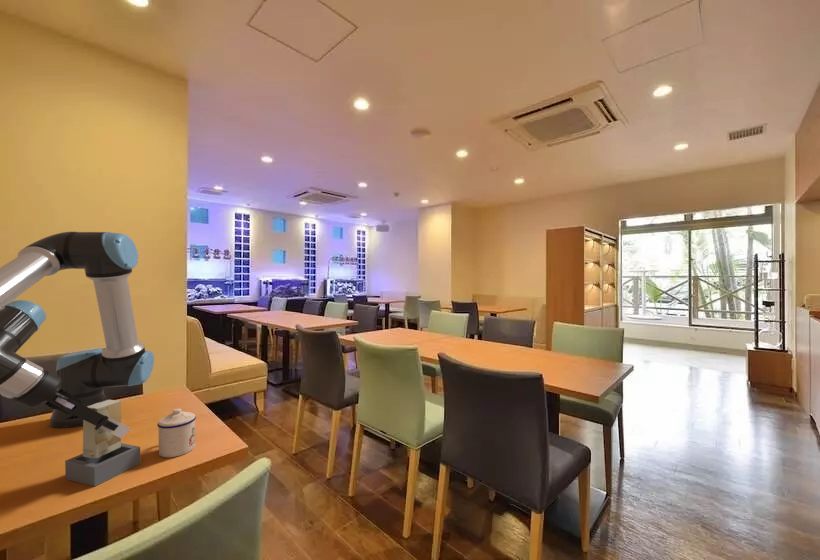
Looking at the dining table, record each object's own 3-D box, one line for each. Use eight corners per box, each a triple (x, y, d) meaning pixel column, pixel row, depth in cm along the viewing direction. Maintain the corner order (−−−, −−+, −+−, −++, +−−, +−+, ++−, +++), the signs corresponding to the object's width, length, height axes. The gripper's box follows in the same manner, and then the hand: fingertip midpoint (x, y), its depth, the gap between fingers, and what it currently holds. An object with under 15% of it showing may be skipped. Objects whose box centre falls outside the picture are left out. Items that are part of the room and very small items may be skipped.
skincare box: (96, 459, 85) (95, 409, 85) (81, 457, 86) (81, 407, 86) (122, 446, 91) (122, 399, 91) (109, 445, 92) (108, 398, 92)
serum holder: (65, 478, 86) (65, 460, 86) (112, 457, 96) (112, 441, 96) (94, 486, 83) (94, 467, 83) (140, 463, 93) (140, 446, 92)
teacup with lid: (198, 451, 99) (197, 410, 99) (158, 462, 93) (157, 418, 93) (193, 436, 108) (192, 398, 108) (156, 444, 103) (156, 405, 103)
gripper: (1, 392, 81) (94, 435, 95) (21, 408, 70) (123, 454, 84) (34, 363, 85) (118, 409, 99) (58, 375, 75) (148, 424, 89)
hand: (120, 430), depth 92 cm, fingers closed on skincare box, 6 cm apart
